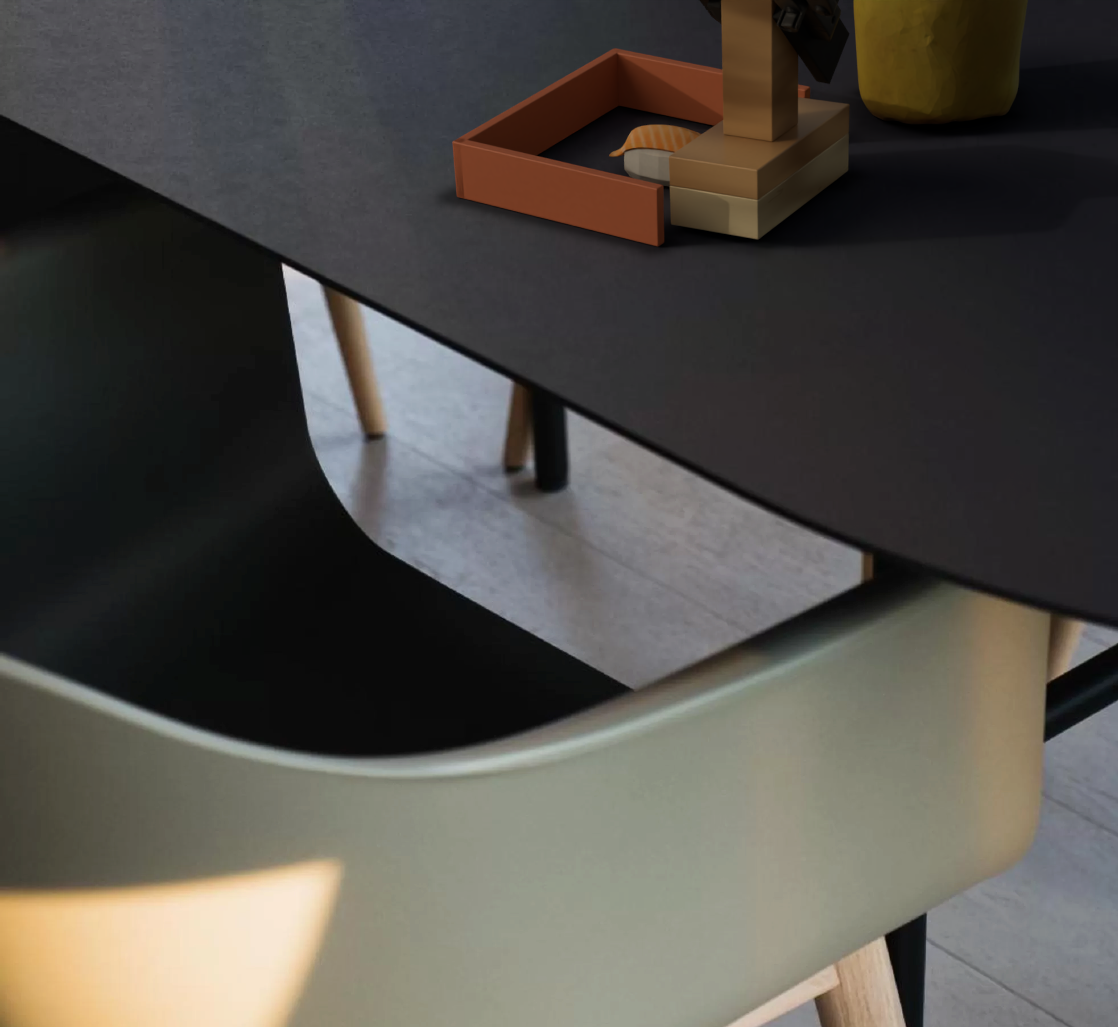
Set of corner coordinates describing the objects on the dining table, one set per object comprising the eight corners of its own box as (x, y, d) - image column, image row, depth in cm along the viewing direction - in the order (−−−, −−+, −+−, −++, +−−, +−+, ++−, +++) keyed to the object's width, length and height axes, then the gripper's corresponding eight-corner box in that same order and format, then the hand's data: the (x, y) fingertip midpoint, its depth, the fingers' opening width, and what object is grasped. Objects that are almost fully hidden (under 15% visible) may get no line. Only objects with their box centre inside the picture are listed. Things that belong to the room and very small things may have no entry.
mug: (1032, 119, 107) (998, -83, 104) (847, 160, 112) (808, -31, 108) (1080, 82, 117) (1050, -103, 113) (908, 122, 122) (874, -55, 118)
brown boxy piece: (764, 157, 110) (762, -156, 100) (848, 170, 107) (855, -149, 98) (670, 224, 103) (659, -104, 94) (758, 240, 101) (755, -95, 91)
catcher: (809, 141, 111) (811, 86, 109) (658, 247, 102) (657, 189, 100) (615, 100, 117) (614, 47, 115) (456, 197, 108) (451, 141, 106)
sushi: (713, 198, 106) (713, 142, 104) (600, 182, 108) (598, 126, 106) (731, 179, 108) (732, 123, 106) (621, 163, 110) (619, 108, 108)
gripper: (421, -165, 87) (642, 94, 108) (745, -118, 80) (915, 150, 101) (485, -331, 87) (694, -40, 108) (816, -300, 80) (972, 6, 101)
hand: (800, 51), depth 104 cm, fingers closed on brown boxy piece, 3 cm apart
